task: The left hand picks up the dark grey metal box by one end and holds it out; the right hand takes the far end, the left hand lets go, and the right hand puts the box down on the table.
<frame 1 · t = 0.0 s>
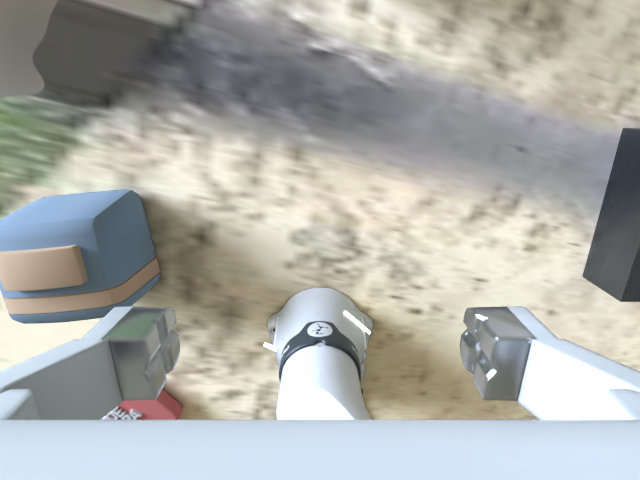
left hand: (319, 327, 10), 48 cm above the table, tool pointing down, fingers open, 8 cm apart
blue bag: (107, 238, 60), on the table
box: (620, 207, 59), on the table
plaque: (140, 415, 73), on the table
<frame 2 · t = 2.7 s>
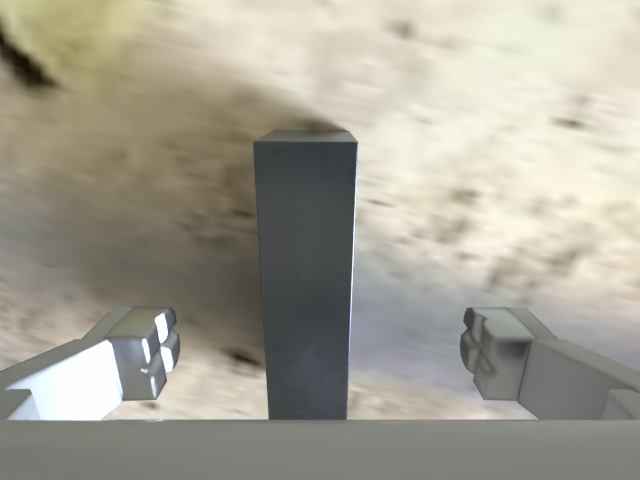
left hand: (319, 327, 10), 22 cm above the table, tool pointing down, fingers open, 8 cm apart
box: (311, 269, 34), on the table
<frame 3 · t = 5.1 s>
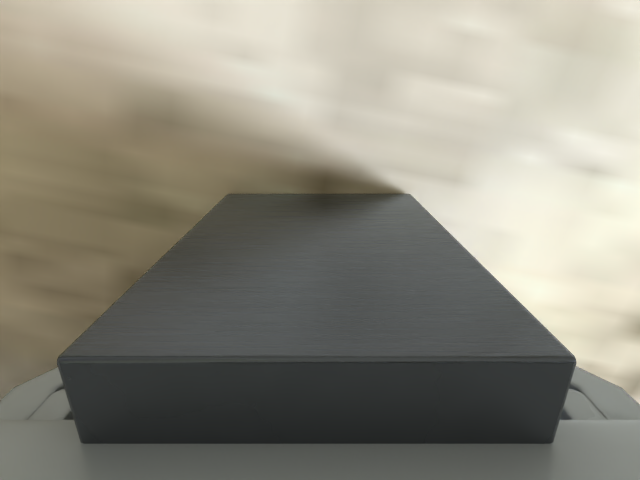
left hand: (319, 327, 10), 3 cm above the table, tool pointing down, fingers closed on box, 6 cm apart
box: (319, 460, 16), on the table, touching left hand
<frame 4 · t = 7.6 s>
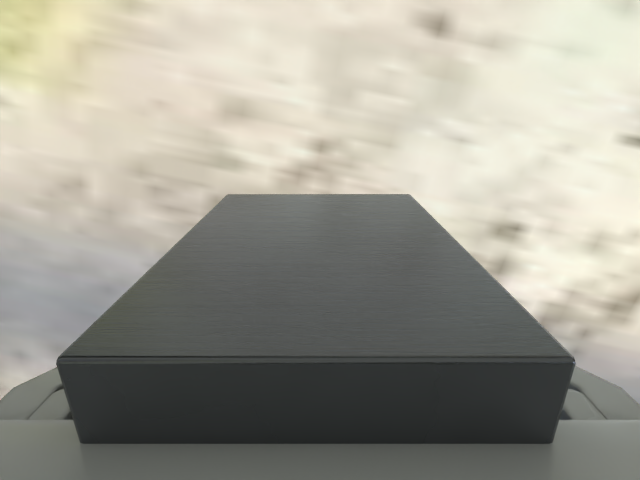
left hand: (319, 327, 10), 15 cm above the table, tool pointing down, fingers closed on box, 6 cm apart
box: (319, 460, 16), point 12 cm above the table, touching left hand
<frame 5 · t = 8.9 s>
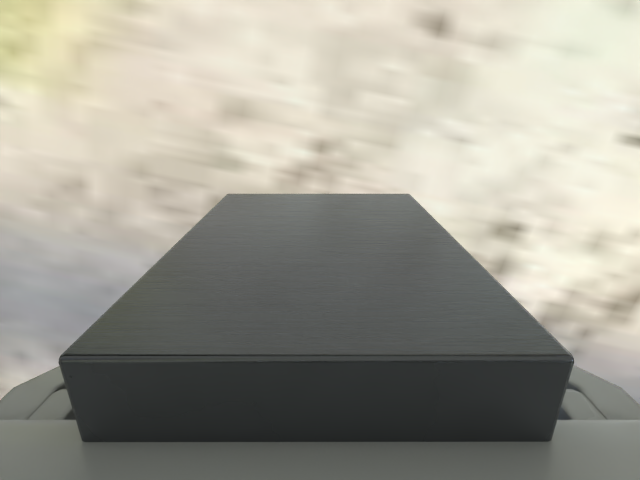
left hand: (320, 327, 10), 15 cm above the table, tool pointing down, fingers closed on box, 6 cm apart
box: (318, 459, 16), point 12 cm above the table, touching left hand, right hand
when the left hand's fingers open (15 cm above the table, at t = 10.2 s): box moves 1 cm, held by the right hand.
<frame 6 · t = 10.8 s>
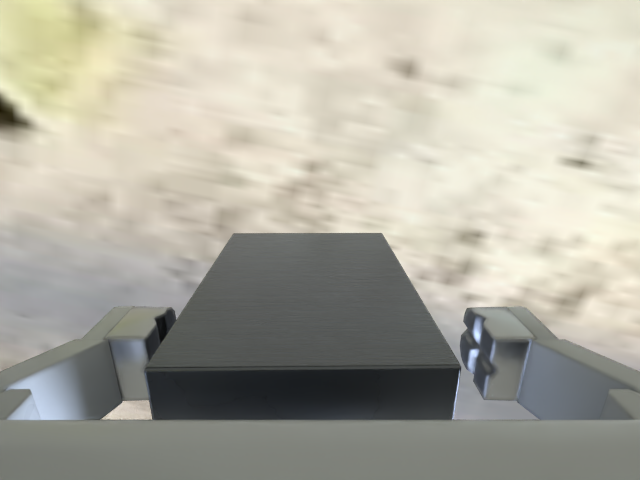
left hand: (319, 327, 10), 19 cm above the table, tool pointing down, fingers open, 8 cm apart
box: (309, 456, 19), point 14 cm above the table, touching right hand
when the right hand's fingers open (5 cm above the table, at t = 14.5 s): box stays where it is, on the table.
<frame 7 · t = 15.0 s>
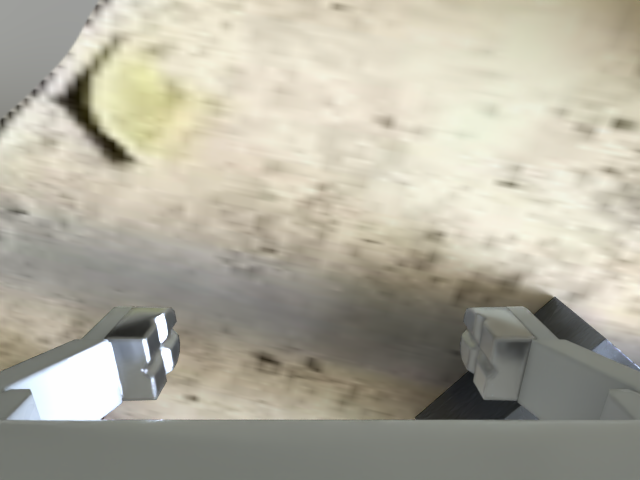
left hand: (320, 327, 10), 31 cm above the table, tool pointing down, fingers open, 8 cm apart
box: (495, 373, 48), on the table
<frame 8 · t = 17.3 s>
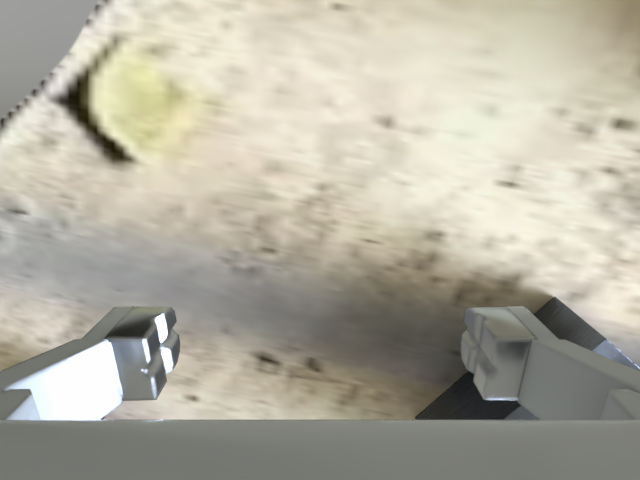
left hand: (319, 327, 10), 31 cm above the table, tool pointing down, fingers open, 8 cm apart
box: (495, 373, 48), on the table
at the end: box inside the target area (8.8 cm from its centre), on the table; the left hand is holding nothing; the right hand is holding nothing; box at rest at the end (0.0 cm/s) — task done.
